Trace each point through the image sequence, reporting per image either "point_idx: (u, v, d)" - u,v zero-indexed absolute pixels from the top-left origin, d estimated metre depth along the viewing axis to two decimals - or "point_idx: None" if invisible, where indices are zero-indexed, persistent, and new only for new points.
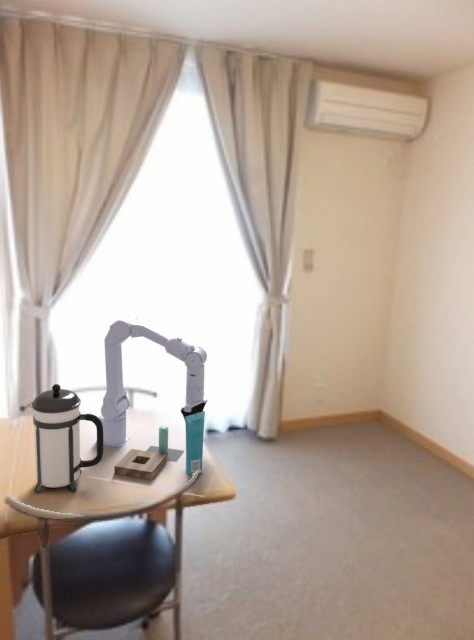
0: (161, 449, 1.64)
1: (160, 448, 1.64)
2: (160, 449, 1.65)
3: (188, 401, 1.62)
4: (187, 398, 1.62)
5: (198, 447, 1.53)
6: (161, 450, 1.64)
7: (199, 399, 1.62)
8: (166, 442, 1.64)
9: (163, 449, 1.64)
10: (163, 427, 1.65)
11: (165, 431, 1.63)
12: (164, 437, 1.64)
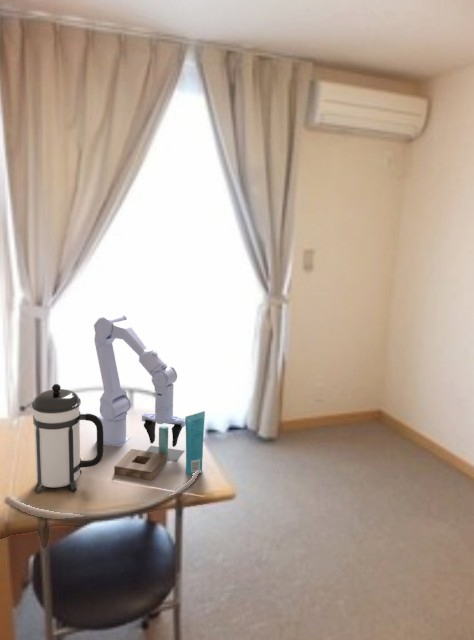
0: (161, 449, 1.64)
1: (160, 448, 1.64)
2: (160, 449, 1.65)
3: None
4: None
5: (198, 447, 1.53)
6: (161, 450, 1.64)
7: (156, 417, 1.62)
8: (166, 442, 1.64)
9: (163, 449, 1.64)
10: (163, 427, 1.65)
11: (165, 431, 1.63)
12: (164, 437, 1.64)
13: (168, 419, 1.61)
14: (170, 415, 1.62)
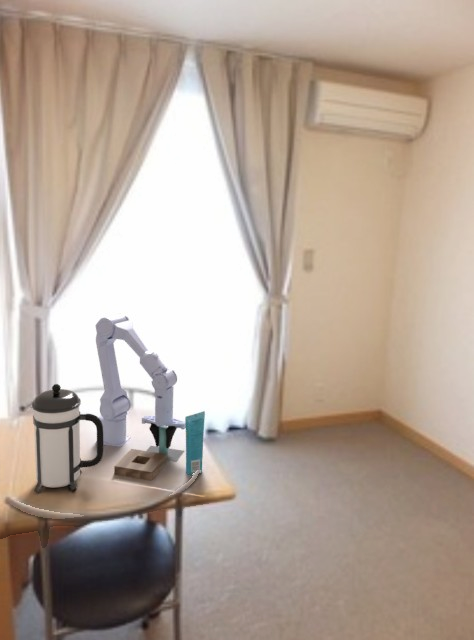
0: (161, 449, 1.64)
1: (160, 448, 1.64)
2: (160, 449, 1.65)
3: None
4: None
5: (198, 447, 1.53)
6: (161, 450, 1.64)
7: (156, 420, 1.62)
8: None
9: (163, 449, 1.64)
10: (163, 427, 1.65)
11: (165, 431, 1.63)
12: (164, 437, 1.64)
13: (168, 422, 1.62)
14: (170, 418, 1.62)
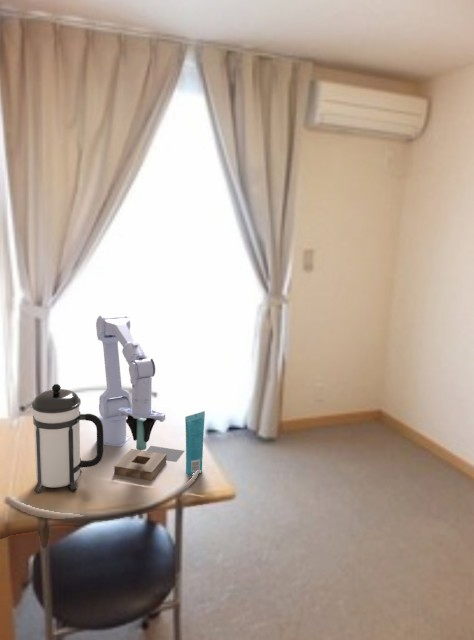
0: (139, 443, 1.53)
1: (138, 442, 1.53)
2: (138, 443, 1.53)
3: None
4: None
5: (198, 447, 1.53)
6: (139, 445, 1.53)
7: (133, 411, 1.51)
8: None
9: (141, 444, 1.53)
10: (142, 419, 1.54)
11: None
12: (142, 430, 1.52)
13: (146, 413, 1.50)
14: (148, 409, 1.51)
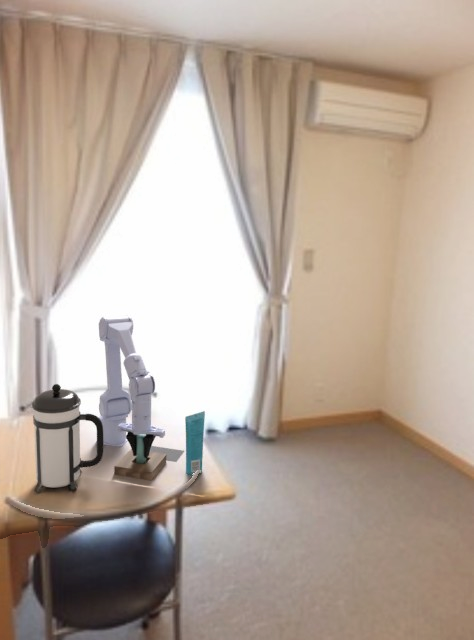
0: (138, 458, 1.54)
1: (138, 458, 1.54)
2: (138, 459, 1.54)
3: None
4: None
5: (198, 447, 1.53)
6: (139, 460, 1.54)
7: (132, 427, 1.52)
8: None
9: (141, 459, 1.54)
10: (141, 435, 1.55)
11: None
12: (142, 446, 1.53)
13: (145, 430, 1.51)
14: (148, 425, 1.52)
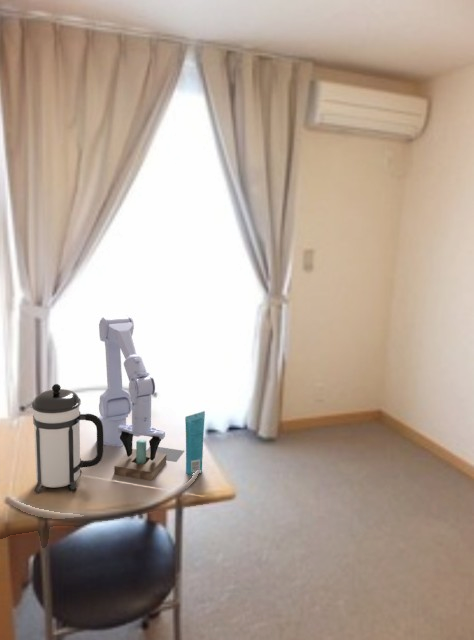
0: None
1: None
2: None
3: None
4: None
5: (198, 447, 1.53)
6: None
7: (132, 429, 1.52)
8: (144, 457, 1.55)
9: None
10: (141, 441, 1.55)
11: (143, 445, 1.53)
12: (142, 451, 1.54)
13: (145, 431, 1.51)
14: (148, 427, 1.52)
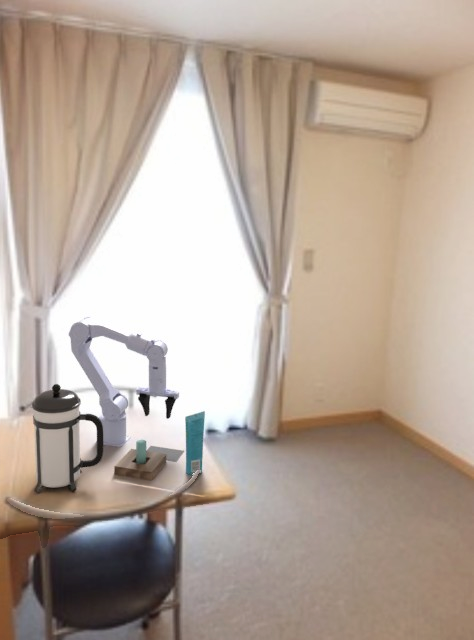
0: None
1: None
2: None
3: None
4: None
5: (198, 447, 1.53)
6: None
7: (149, 390, 1.67)
8: (144, 457, 1.55)
9: None
10: (141, 441, 1.55)
11: (143, 445, 1.53)
12: (142, 451, 1.54)
13: (161, 392, 1.67)
14: (163, 388, 1.67)
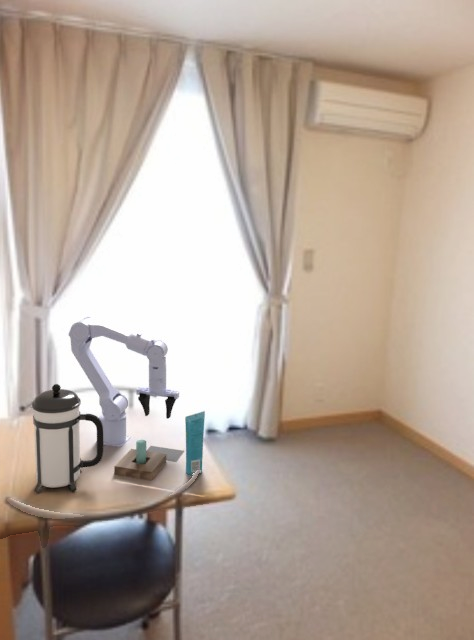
0: None
1: None
2: None
3: None
4: None
5: (198, 447, 1.53)
6: None
7: (150, 390, 1.67)
8: (144, 457, 1.55)
9: None
10: (141, 441, 1.55)
11: (143, 445, 1.53)
12: (142, 451, 1.54)
13: (161, 392, 1.67)
14: (163, 388, 1.67)
